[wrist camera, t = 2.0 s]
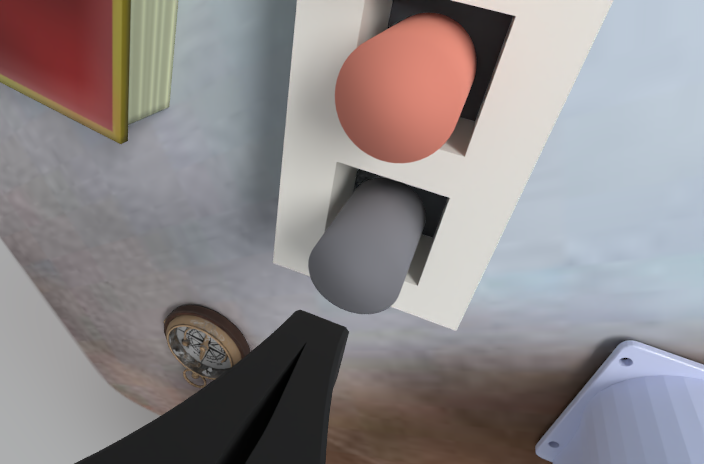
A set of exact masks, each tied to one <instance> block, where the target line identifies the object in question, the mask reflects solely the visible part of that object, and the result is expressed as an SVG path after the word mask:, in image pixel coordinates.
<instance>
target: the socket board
mask: <svg viewBox="0 0 704 464" xmlns="http://www.w3.org/2000/svg"><path fill="white" fill-rule="evenodd" d="M452 1H456V2H460V3H465V4H469V5H473V6H477V7H481V8H485V9H489V10H493V11H497V12H501V13H505V14H509V15H513V18H512V21H511V23H510V26H509V29H508V32H507V34H506V37H505V40H504V43H503V45H502V48H501V51H500V54H499V57H498V59H497V62H496V65H495V68H494V70H493V73H492V76H491V79H490V82H489V84H488V87H487V90H486V93H485V95H484V98H483V101H482V104H481V106H480V109H479V112H478V115H477V118H476V120H475V121H472V120H468V119H465V118H462V117H459V119H458V122H457V124H456V126H455V129H454V131H453V132H452V134H451V136H450V137H449V139H448V140H447V141H446V143H445V144H444V145H443V146H442V147H441V148H440V149H438V150H437V151H436V152H434V153H433V154H431V155H430V156H428V157H426V158H424V159H421V160H419V161H415V162H410V163H389V162H385V161H381V160H379V159H376V158H374V157H372V156H370V155H368V154H366V153H365V152H363V151H362V150H361V149H359V148H358V147H357V146H356V145H355V144H354V143H353V142H352V141H351V140H350V138H349V137H348V136H347V134H346V133H345V131H344V129H343V127H342V126H341V123H340V121H339V118H338V115H337V111H336V105H335V86H336V82H337V77H338V75H339V72H340V69H341V67H342V66H343V64H344V62H345V60H346V59H347V58H348V56H349V55H350V54H351V53H352V52H353V51H354V50H355V49H356V48H357V47H358V46H360V45H361V44H362V43H364V42H366V41H367V40H369V39H371V38H373V37H374V36H376V35H378V34H380V33H381V32H383V31H385V30H387V27H388V22H389V17H390V13H391V8H392V3H393V0H297V6H296V17H295V28H294V39H293V49H292V60H291V71H290V82H289V93H288V104H287V115H286V125H285V136H284V147H283V158H282V169H281V180H280V191H279V201H278V212H277V223H276V234H275V245H274V256H273V263H275V264H277V265H280V266H283V267H285V268H288V269H291V270H293V271H296V272H299V273H301V274H304V275H307V276H310V274H309V269H308V261H309V256H310V254H311V251H312V250H313V248H314V247H315V245H316V244H317V243H318V241H319V240H320V238H321V237H322V235H323V234H324V233H325V231H326V230H327V228H328V227H329V226H330V224H331V223H332V221H333V220H334V219H335V217H336V216H337V214H338V213H339V212H340V210H341V209H342V207H343V206H344V205H345V203H346V202H347V200H348V199H349V198H350V196H351V195H352V193H353V190H354V185H355V180H356V176H357V171H358V169H362V170H365V171H368V172H371V173H374V174H377V175H380V176H383V177H386V178H390V179H393V180H396V181H399V182H402V183H405V184H408V185H411V186H414V187H418V188H421V189H424V190H427V191H430V192H433V193H436V194H439V195H442V196H446V197H448V198H447V201H446V204H445V206H444V209H443V212H442V215H441V217H440V220H439V223H438V226H437V228H436V231H435V234H434V237H433V238H432V237H429V236H426V235H423V234H421V237H420V239H419V242H418V245H417V248H416V250H415V253H414V256H413V259H412V261H411V264H410V267H409V270H408V272H407V275H406V278H405V281H404V283H403V286H402V289H401V291H400V294H399V296H398V298H397V300H396V301H395V303H394V304H393V305H392V306H390V307H393V308H396V309H398V310H401V311H404V312H407V313H409V314H412V315H415V316H417V317H420V318H423V319H425V320H428V321H431V322H433V323H436V324H439V325H442V326H444V327H447V328H450V329H452V330H455V331H457V328H458V326H459V324H460V322H461V320H462V318H463V316H464V314H465V312H466V309H467V307H468V305H469V303H470V301H471V299H472V297H473V295H474V293H475V291H476V288H477V286H478V284H479V282H480V280H481V278H482V276H483V274H484V272H485V270H486V267H487V265H488V263H489V261H490V259H491V257H492V255H493V253H494V251H495V248H496V246H497V244H498V242H499V240H500V238H501V236H502V234H503V232H504V230H505V227H506V225H507V223H508V221H509V219H510V217H511V215H512V213H513V211H514V209H515V206H516V204H517V202H518V200H519V198H520V196H521V194H522V192H523V190H524V187H525V185H526V183H527V181H528V179H529V177H530V175H531V173H532V171H533V169H534V166H535V164H536V162H537V160H538V158H539V156H540V154H541V152H542V150H543V148H544V145H545V143H546V141H547V139H548V137H549V135H550V133H551V131H552V129H553V126H554V124H555V122H556V120H557V118H558V116H559V114H560V112H561V110H562V108H563V105H564V103H565V101H566V99H567V97H568V95H569V93H570V91H571V89H572V86H573V84H574V82H575V80H576V78H577V76H578V74H579V72H580V70H581V68H582V65H583V63H584V61H585V59H586V57H587V55H588V53H589V51H590V49H591V47H592V44H593V42H594V40H595V38H596V36H597V34H598V32H599V30H600V28H601V25H602V23H603V21H604V19H605V17H606V15H607V13H608V11H609V9H610V7H611V4H612V2H613V0H452Z"/></svg>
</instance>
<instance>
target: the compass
mask: <svg viewBox="0 0 704 464" xmlns="http://www.w3.org/2000/svg"><path fill="white" fill-rule="evenodd" d="M164 333H165V336H166V339H167V342H168V346H169V348H170V350H171V352H172V354H173V355H174V356H175V357H176V359H177V360H178V361H179V362H180V363H181V364H182V365H183V366H185V367H186V368H187V369H185V370H184V372H183V376H184V378H185V379H186V381H187V382H188V383H190V384H191V385H193V386H195V387H198V388H203V387H205V386H206V380H205V378H208V379H213V380H215V379H216V378H218V377H219V376H220V375H222V374H223V373H225V372H226V371H227V370H229V369H230V368H231V367H233V366H234V365H235V364H236V363H238V362H239V361H240V360H241V359H243V358H244V357H245V356H246V355H247V354H249V353H250V349H249V346H248V344H247V342H246V340H245V338H244V336H243V334H242V333H241V332H240V331H239V330H238V328H237V327H236V326H235V325H234V324H233V323H231V322H230V321H229V320H228V319H227V318H225V317H224V316H222V315H220V314H219V313H217V312H215V311H213V310H211V309H208V308H205V307H202V306H194V305H185V306H180V307H178V308H177V309H175V310H174V311H173V312H172V313H171V314H170V315H169V316H168V317H167V318H166V319H165V320H164ZM186 371H192V377H193V378H194V379H197V378H198V377H199V376H200V377H201V378H202V379H203V381H204V385H202V386H199V385H196V384H194V383H192V382H191V381H190V380H189V379H188V378H187V377H186V374H185V372H186Z"/></svg>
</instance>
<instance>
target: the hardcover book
mask: <svg viewBox="0 0 704 464" xmlns="http://www.w3.org/2000/svg"><path fill="white" fill-rule="evenodd" d="M177 9H178V0H0V82H1V83H3V84H5V85H7V86H9V87H11V88H13V89H14V90H16V91H18V92H20V93H22V94H24V95H26V96H28V97H30V98H32V99H34V100H36V101H38V102H40V103H42V104H44V105H46V106H47V107H49V108H51V109H53V110H55V111H57V112H59V113H61V114H63V115H65V116H67V117H69V118H71V119H73V120H75V121H77V122H79V123H81V124H82V125H84V126H86V127H88V128H90V129H92V130H94V131H96V132H98V133H100V134H102V135H104V136H106V137H108V138H110V139H112V140H114V141H115V142H117V143H119V144H122V143H124V142H126V141H128V125H129V124H131V123H134V122H136V121H138V120H140V119H143V118H145V117H147V116H150V115H152V114H154V113H157V112H159V111H161V110H163V109H166V108H168V107H169V103H170V91H171V79H172V68H173V56H174V44H175V32H176V21H177Z"/></svg>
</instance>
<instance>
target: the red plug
mask: <svg viewBox="0 0 704 464" xmlns="http://www.w3.org/2000/svg"><path fill="white" fill-rule="evenodd" d="M476 67H477V58H476V51H475V47H474V44H473V42H472V40H471V38H470V36H469V34H468V33H467V31H466V30H465V29H464V28H463V27H462V26H461V25H460V24H459V23H458V22H456V21H455V20H454V19H452V18H450V17H448V16H445V15H442V14H438V13H420V14H416V15H413V16H410V17H408V18H406V19H404V20H403V21H401V22H399V23H397V24H395V25H394V26H392V27H390V28H388V29H387V30H385V31H383V32H381V33H380V34H378V35H376V36H374V37H373V38H371V39H369V40H367V41H366V42H364V43H362V44H361V45H360V46H358V47H357V48H356V49H355V50H354V51H353V52H352V53H351V54H350V55H349V56H348V58H347V59H346V60H345V62H344V64H343V66H342V67H341V69H340V72H339V75H338V77H337V82H336V86H335V105H336V111H337V115H338V118H339V121H340V123H341V126H342V127H343V129H344V131H345V133H346V134H347V136H348V137H349V138H350V140H351V141H352V142H353V143H354V144H355V145H356V146H357V147H358V148H359V149H361V150H362V151H363V152H365V153H366V154H368V155H370V156H372V157H374V158H376V159H379V160H381V161H385V162H389V163H410V162H415V161H419V160H421V159H424V158H426V157H428V156H430V155H431V154H433V153H434V152H436V151H437V150H438V149H440V148H441V147H442V146H443V145H444V144H445V143H446V141H447V140H448V139H449V137H450V136H451V134H452V132H453V131H454V129H455V126H456V124H457V122H458V119H459V116H460V114H461V111H462V109H463V106H464V104H465V101H466V99H467V96H468V94H469V91H470V89H471V86H472V84H473V81H474V78H475V74H476Z"/></svg>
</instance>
